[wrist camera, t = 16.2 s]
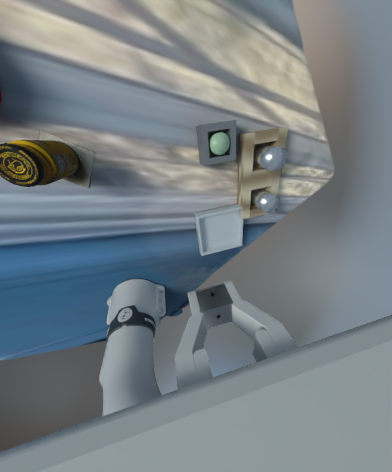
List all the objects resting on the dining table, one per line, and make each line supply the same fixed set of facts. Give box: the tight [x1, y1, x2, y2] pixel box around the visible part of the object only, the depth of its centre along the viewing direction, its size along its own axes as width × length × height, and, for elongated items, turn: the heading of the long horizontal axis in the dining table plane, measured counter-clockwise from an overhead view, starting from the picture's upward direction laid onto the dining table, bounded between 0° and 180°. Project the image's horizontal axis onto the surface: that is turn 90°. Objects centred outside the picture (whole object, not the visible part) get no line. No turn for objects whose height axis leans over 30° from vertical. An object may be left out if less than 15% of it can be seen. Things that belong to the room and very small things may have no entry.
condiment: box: [0, 130, 94, 188], centre depth 26 cm, size 7×8×12 cm
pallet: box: [237, 127, 288, 219], centre depth 40 cm, size 20×10×3 cm, turn 7°
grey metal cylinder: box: [253, 146, 287, 171], centre depth 35 cm, size 4×4×7 cm
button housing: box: [196, 120, 236, 166], centre depth 33 cm, size 7×7×4 cm
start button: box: [208, 132, 230, 155], centre depth 32 cm, size 4×4×3 cm
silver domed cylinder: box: [250, 188, 280, 213], centre depth 40 cm, size 4×4×7 cm
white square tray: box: [194, 204, 243, 256], centre depth 45 cm, size 13×13×2 cm
